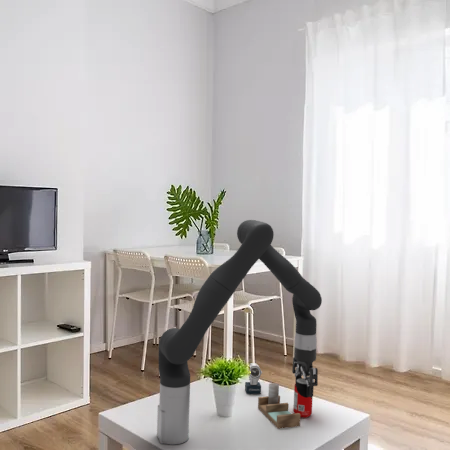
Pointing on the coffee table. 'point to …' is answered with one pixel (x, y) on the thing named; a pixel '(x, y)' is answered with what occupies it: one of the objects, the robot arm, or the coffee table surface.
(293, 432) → the coffee table surface
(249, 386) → the watch
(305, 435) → the coffee table surface
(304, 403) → the beverage can
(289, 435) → the coffee table surface
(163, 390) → the robot arm
